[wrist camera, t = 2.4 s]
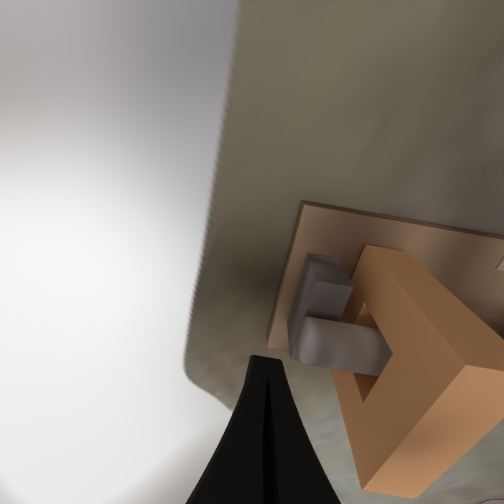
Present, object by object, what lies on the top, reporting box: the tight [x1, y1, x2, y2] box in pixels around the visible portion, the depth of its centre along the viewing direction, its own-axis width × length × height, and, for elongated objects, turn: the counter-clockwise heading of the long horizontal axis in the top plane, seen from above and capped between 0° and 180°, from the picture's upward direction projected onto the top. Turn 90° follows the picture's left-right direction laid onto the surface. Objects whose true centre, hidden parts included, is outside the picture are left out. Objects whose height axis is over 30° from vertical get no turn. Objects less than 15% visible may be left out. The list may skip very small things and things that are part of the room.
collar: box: [331, 244, 504, 499], centre depth 13 cm, size 2×9×9 cm, turn 171°
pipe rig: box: [267, 200, 504, 376], centre depth 15 cm, size 19×12×7 cm, turn 81°
